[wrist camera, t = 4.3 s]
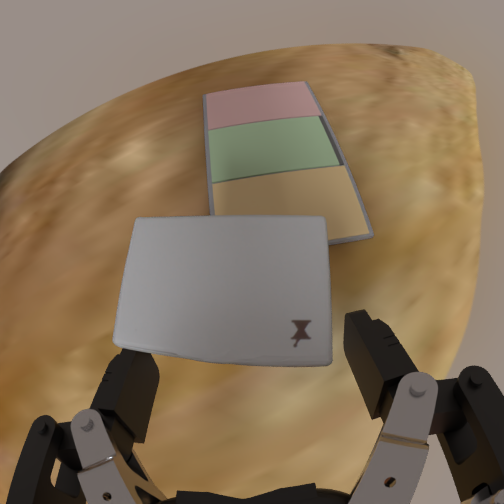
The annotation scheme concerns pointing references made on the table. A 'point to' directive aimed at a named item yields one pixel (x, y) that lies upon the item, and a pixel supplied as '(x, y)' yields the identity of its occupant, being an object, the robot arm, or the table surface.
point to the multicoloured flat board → (279, 159)
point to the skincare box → (228, 290)
